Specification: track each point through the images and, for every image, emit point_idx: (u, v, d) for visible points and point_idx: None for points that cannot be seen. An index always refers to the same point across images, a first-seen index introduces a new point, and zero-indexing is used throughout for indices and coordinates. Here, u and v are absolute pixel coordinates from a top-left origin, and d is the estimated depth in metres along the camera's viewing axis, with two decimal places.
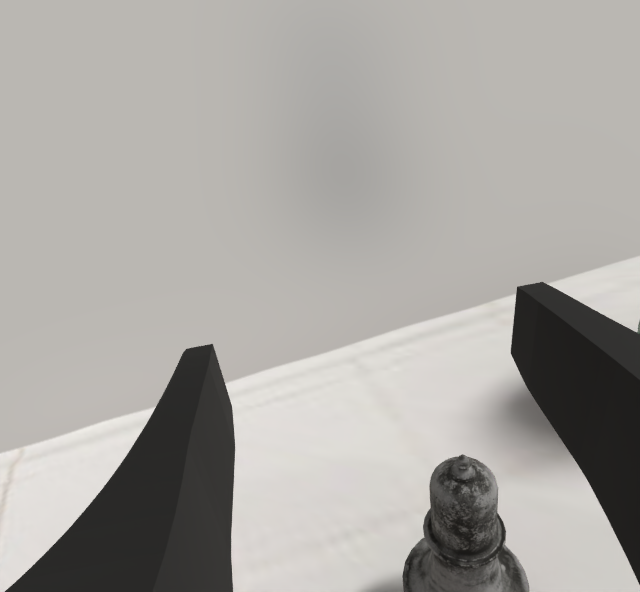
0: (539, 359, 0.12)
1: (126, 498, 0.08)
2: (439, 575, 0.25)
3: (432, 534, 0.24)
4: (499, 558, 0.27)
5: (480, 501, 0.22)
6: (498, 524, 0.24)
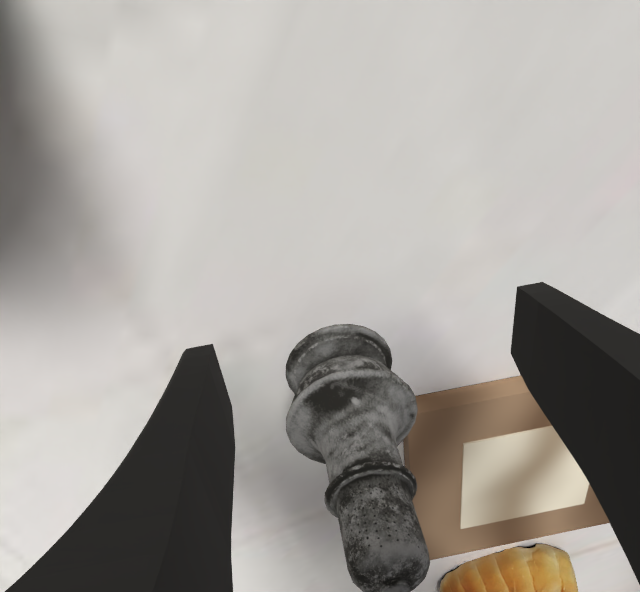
0: (539, 359, 0.12)
1: (125, 498, 0.08)
2: None
3: None
4: (343, 402, 0.23)
5: (426, 563, 0.19)
6: (376, 472, 0.20)
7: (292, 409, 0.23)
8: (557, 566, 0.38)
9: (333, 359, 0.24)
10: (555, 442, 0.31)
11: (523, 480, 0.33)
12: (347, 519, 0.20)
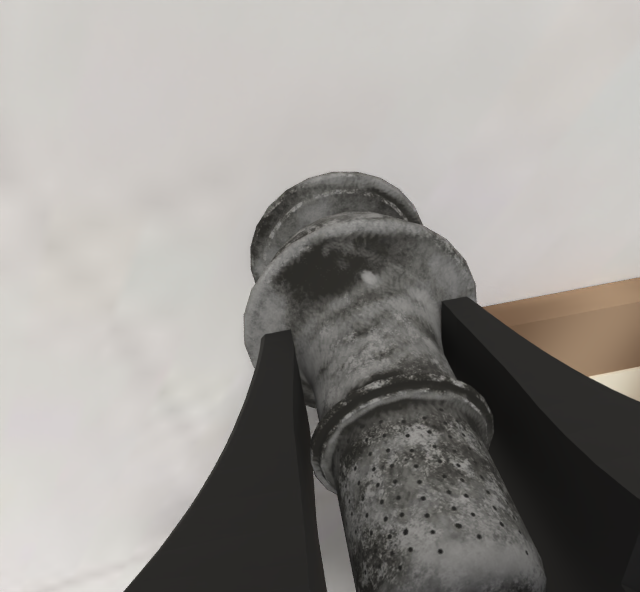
0: (461, 374, 0.12)
1: (243, 473, 0.08)
2: None
3: None
4: (346, 279, 0.12)
5: (542, 591, 0.08)
6: (417, 395, 0.10)
7: (253, 299, 0.13)
8: None
9: (328, 217, 0.14)
10: None
11: None
12: (356, 492, 0.09)
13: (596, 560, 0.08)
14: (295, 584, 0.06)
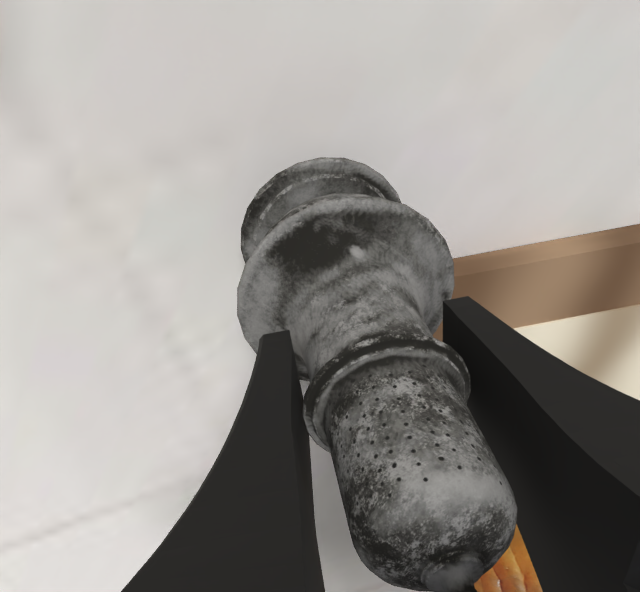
0: None
1: (240, 474, 0.08)
2: None
3: None
4: (335, 253, 0.13)
5: (514, 519, 0.09)
6: (402, 353, 0.11)
7: (247, 271, 0.14)
8: None
9: (318, 197, 0.15)
10: (616, 335, 0.23)
11: None
12: (348, 437, 0.10)
13: (598, 560, 0.08)
14: (291, 585, 0.06)
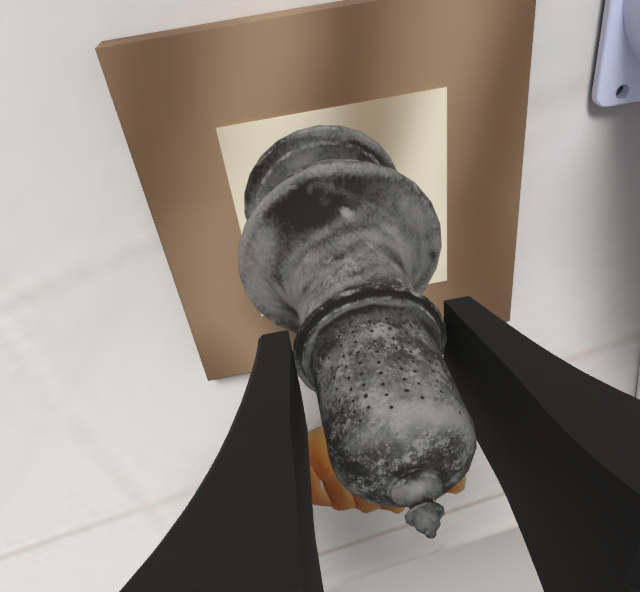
0: (463, 374, 0.12)
1: (239, 474, 0.08)
2: None
3: None
4: (327, 214, 0.14)
5: (472, 444, 0.10)
6: (381, 302, 0.12)
7: (246, 231, 0.15)
8: None
9: (313, 162, 0.16)
10: None
11: None
12: (329, 375, 0.11)
13: (600, 559, 0.08)
14: (289, 585, 0.06)
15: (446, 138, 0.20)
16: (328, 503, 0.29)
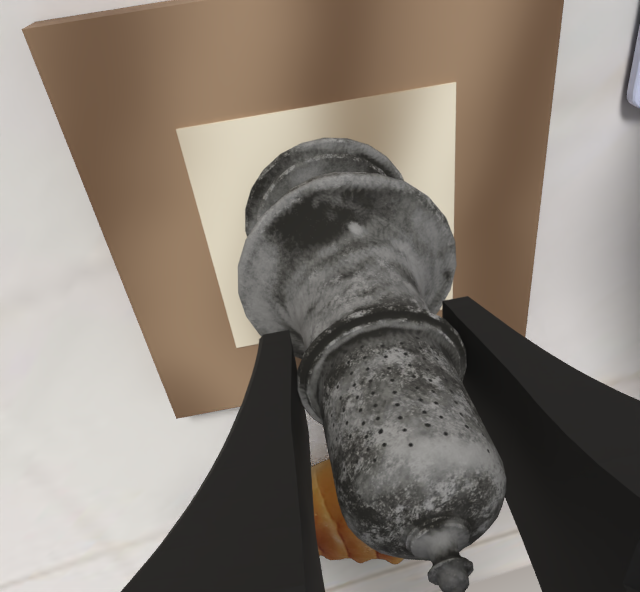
0: None
1: (241, 474, 0.08)
2: None
3: None
4: (334, 229, 0.13)
5: (502, 487, 0.09)
6: (395, 324, 0.11)
7: (246, 248, 0.14)
8: None
9: (319, 175, 0.15)
10: None
11: None
12: (338, 406, 0.10)
13: (598, 560, 0.08)
14: (291, 585, 0.06)
15: (454, 143, 0.17)
16: None
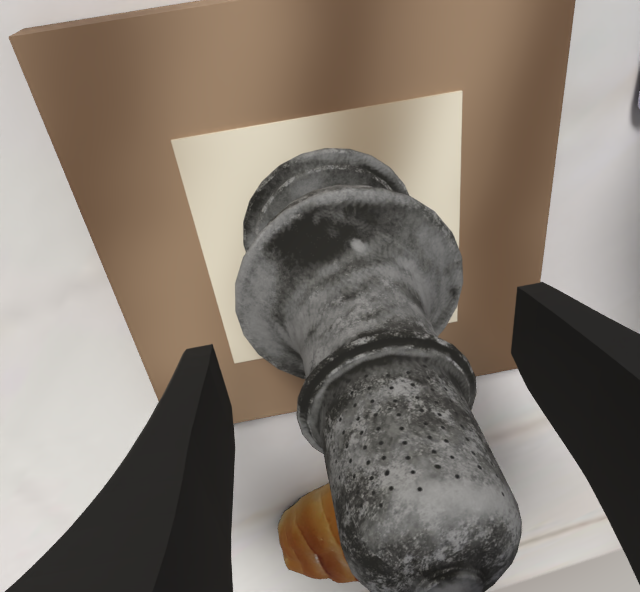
0: (539, 359, 0.12)
1: (126, 498, 0.08)
2: None
3: None
4: (335, 246, 0.12)
5: (517, 532, 0.08)
6: (401, 352, 0.10)
7: (244, 266, 0.13)
8: None
9: (319, 189, 0.14)
10: None
11: None
12: (341, 441, 0.09)
13: None
14: None
15: (460, 153, 0.16)
16: (325, 577, 0.26)
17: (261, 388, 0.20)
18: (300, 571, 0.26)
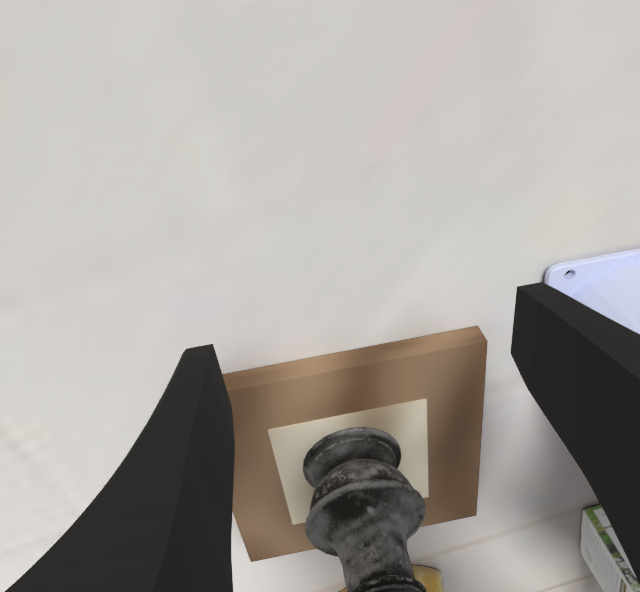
0: (539, 359, 0.12)
1: (125, 498, 0.08)
2: None
3: None
4: (359, 510, 0.25)
5: None
6: (391, 587, 0.22)
7: (312, 514, 0.26)
8: None
9: (349, 465, 0.26)
10: None
11: None
12: None
13: None
14: None
15: (426, 424, 0.29)
16: None
17: None
18: None
